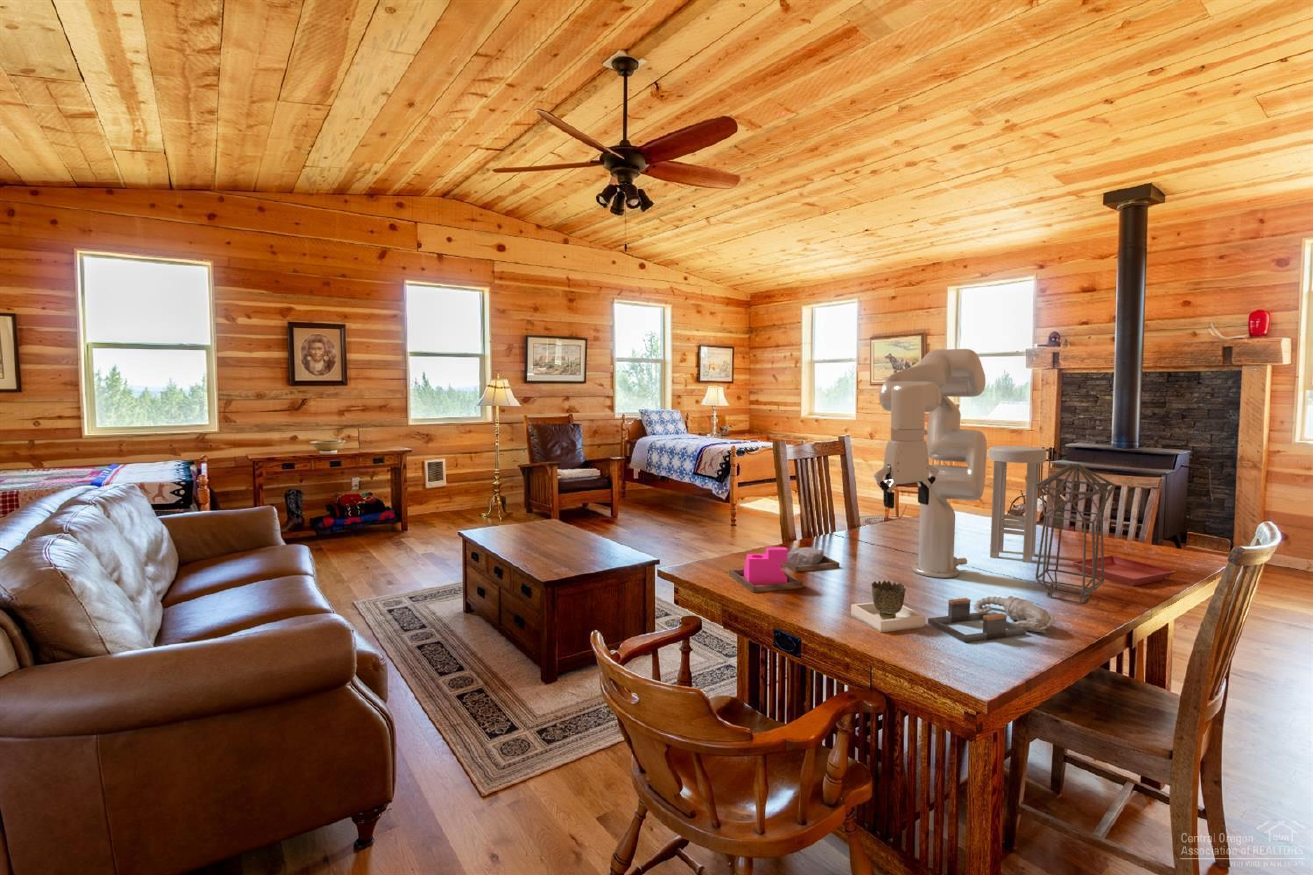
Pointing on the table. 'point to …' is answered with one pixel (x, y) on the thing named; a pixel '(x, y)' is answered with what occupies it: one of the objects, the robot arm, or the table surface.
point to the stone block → (805, 556)
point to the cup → (888, 598)
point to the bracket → (766, 567)
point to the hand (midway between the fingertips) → (906, 505)
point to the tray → (872, 618)
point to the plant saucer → (1125, 570)
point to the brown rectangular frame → (828, 565)
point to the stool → (999, 491)
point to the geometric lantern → (1098, 515)
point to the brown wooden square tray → (770, 587)
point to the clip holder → (961, 612)
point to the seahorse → (1019, 612)
